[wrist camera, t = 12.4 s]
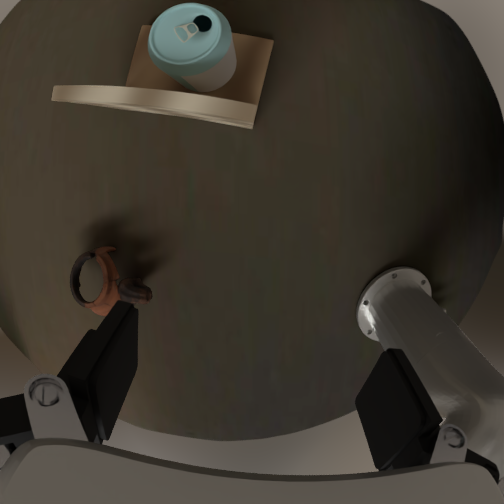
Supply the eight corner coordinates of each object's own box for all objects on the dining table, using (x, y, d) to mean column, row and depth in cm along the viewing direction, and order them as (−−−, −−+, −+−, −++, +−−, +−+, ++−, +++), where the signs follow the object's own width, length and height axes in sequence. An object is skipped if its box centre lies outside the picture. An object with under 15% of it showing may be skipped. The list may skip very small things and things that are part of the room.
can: (190, 31, 28) (164, -11, 17) (246, 48, 29) (244, 8, 18) (165, 82, 30) (127, 60, 19) (221, 101, 31) (207, 83, 20)
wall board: (273, 44, 30) (288, -15, 15) (252, 129, 34) (253, 122, 19) (145, 28, 29) (88, -22, 14) (125, 109, 32) (51, 100, 18)
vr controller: (101, 308, 43) (63, 310, 35) (106, 248, 44) (69, 241, 36) (165, 322, 40) (130, 328, 32) (170, 253, 41) (136, 245, 33)
